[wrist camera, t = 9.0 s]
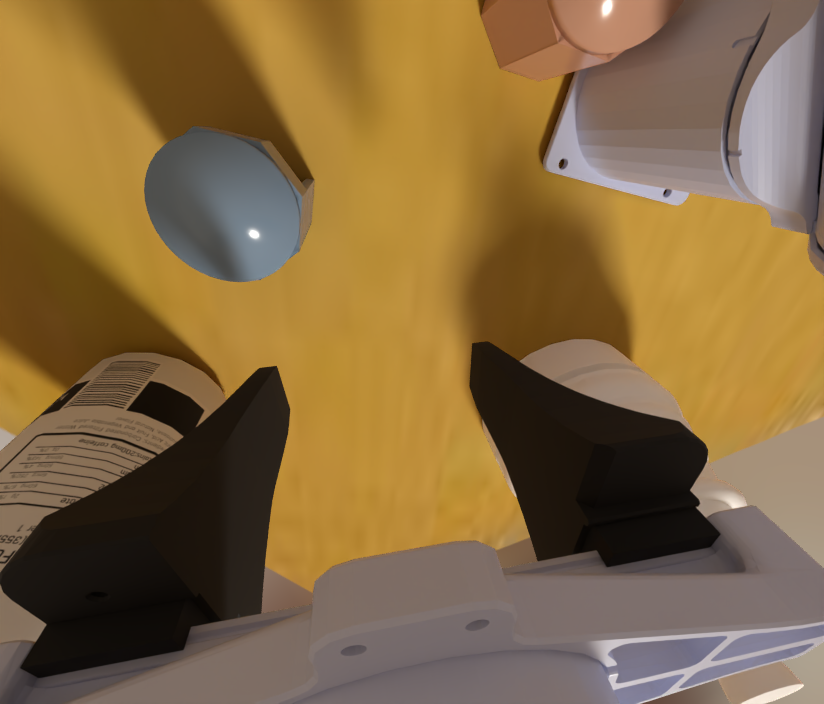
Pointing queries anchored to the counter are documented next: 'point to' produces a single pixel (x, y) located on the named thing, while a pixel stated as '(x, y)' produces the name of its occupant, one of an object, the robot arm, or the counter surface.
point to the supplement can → (93, 447)
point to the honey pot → (634, 389)
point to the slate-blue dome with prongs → (227, 203)
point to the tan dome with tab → (569, 32)
